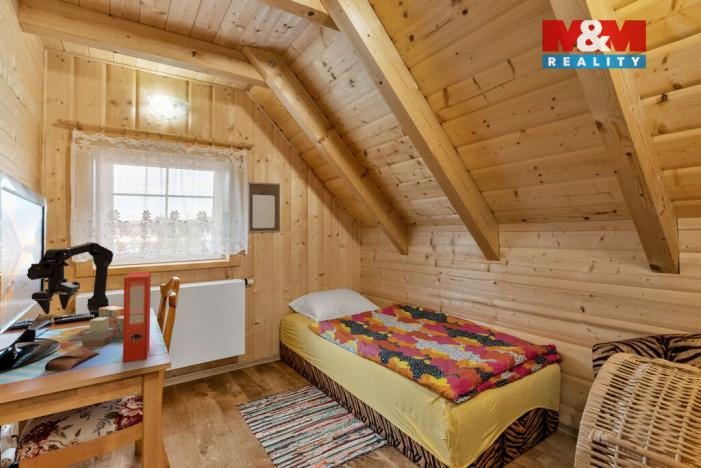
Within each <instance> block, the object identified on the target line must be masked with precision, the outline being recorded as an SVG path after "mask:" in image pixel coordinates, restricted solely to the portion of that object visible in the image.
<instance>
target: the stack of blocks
mask: <svg viewBox="0 0 701 468" xmlns="http://www.w3.org/2000/svg"><path fill="white" fill-rule="evenodd" d="M99 317H104V318H109V328H113V337H116V338H120V339H123V320H124V306H116V305H109V306H107V307H102V308H99Z"/></svg>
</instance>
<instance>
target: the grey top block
mask: <svg viewBox="0 0 701 468" xmlns="http://www.w3.org/2000/svg"><path fill="white" fill-rule="evenodd" d="M111 335H113V328H109V329H107V330H105V331H102V332H90V329H89V330H86V331H84V332H82V333H81V341H82V340H103V339H105V338H107V337H109V336H111Z"/></svg>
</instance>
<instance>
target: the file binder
mask: <svg viewBox="0 0 701 468" xmlns="http://www.w3.org/2000/svg"><path fill="white" fill-rule="evenodd" d="M151 275H152V272H150V271H147V272H145V271H144V272H143V271H141V272H140V271H139V272H129V273H128V274H127V275H125V276H124V278H123V307H124V320H123V338H122V362H123V363H129V362H130V363H131V362H136V361H137V362H138V361H145V360H147V358H148V354H149V349H150V341H151V340H150V339H151V338H150V335H151V284H152V283H151V279H152V278H151V277H152V276H151Z"/></svg>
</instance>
